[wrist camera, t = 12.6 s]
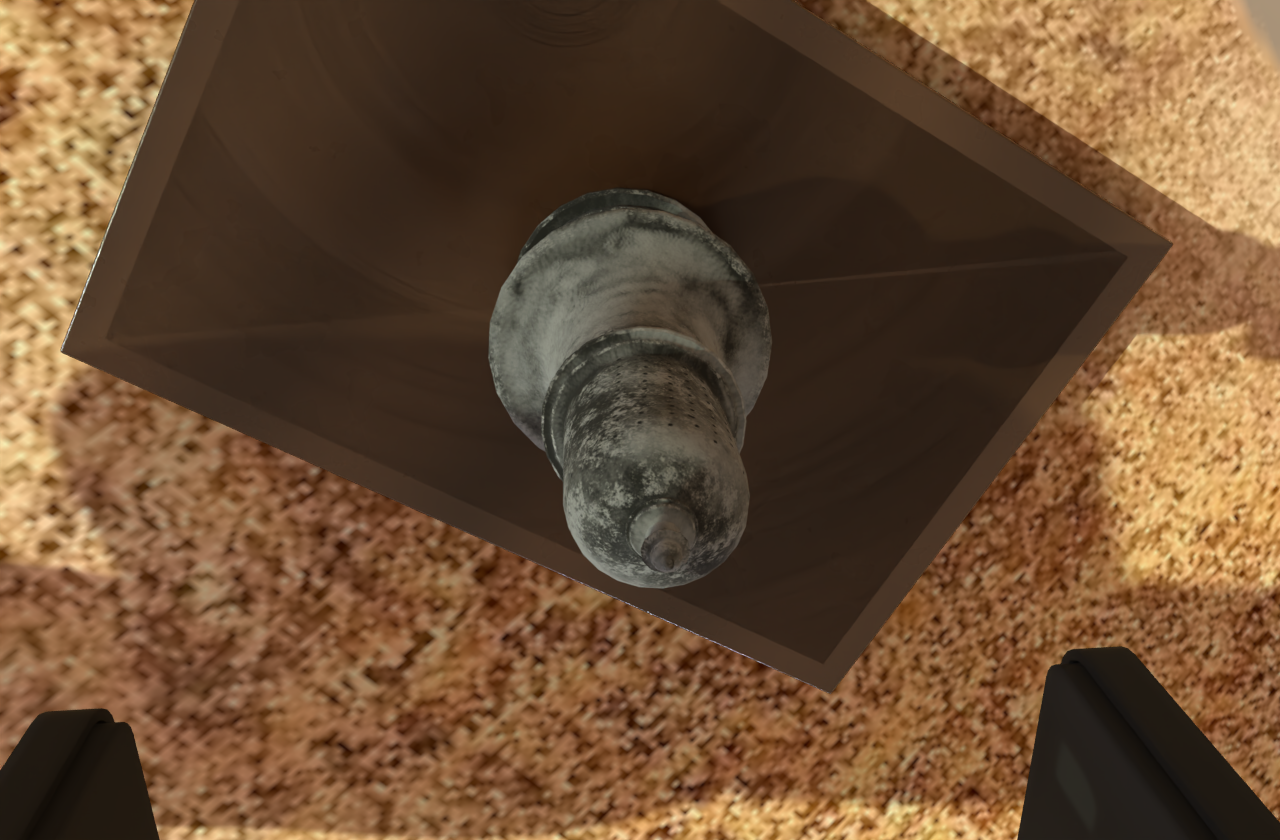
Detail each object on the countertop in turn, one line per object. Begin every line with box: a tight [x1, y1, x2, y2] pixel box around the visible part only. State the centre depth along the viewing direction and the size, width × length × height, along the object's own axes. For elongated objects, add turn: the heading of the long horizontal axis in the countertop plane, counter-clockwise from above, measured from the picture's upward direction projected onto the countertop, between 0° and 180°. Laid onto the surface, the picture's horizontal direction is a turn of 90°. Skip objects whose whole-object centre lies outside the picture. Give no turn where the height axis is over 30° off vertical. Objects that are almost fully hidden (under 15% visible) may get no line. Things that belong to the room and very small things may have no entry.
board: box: [61, 0, 1173, 694], centre depth 26 cm, size 22×15×2 cm
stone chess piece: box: [488, 188, 772, 588], centre depth 20 cm, size 6×6×12 cm
